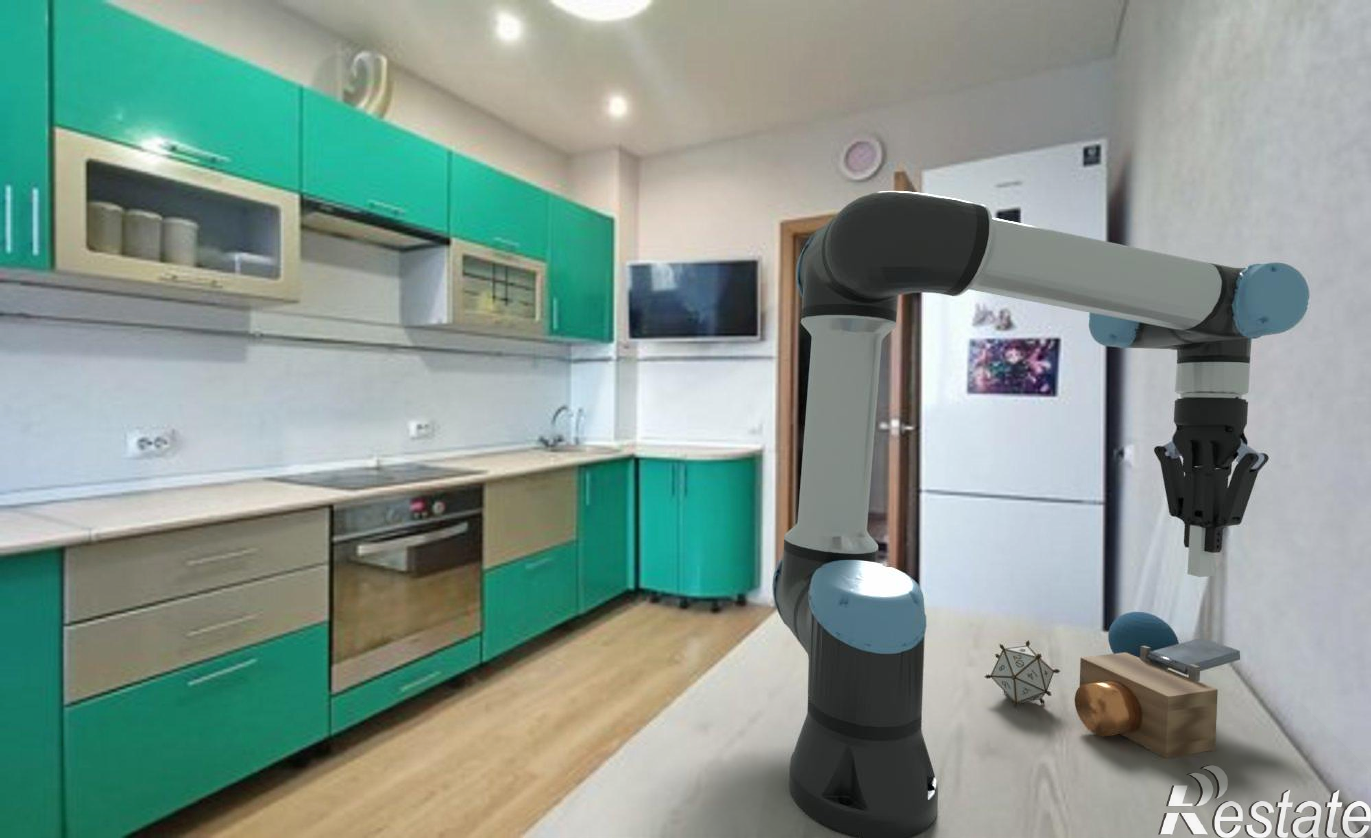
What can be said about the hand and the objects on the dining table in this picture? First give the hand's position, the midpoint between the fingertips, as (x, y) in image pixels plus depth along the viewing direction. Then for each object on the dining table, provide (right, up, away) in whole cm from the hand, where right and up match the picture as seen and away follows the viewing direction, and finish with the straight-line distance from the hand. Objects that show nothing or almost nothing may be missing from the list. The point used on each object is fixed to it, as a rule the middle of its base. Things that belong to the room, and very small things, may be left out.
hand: (1200, 574), depth 86 cm
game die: (-21, -19, +5) cm, 29 cm away
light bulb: (-3, -20, +8) cm, 21 cm away
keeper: (-1, -11, 0) cm, 11 cm away
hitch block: (-9, -19, -2) cm, 22 cm away
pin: (-9, -19, -2) cm, 21 cm away
